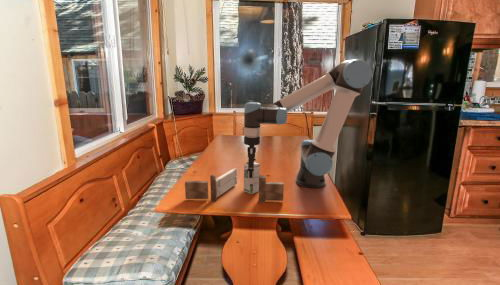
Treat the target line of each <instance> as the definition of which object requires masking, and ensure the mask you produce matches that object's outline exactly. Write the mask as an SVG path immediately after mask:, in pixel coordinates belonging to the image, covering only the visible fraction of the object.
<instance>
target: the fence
mask: <svg viewBox="0 0 500 285" xmlns="http://www.w3.org/2000/svg"><path fill="white" fill-rule="evenodd" d="M209 177H210V201H211V202H212V203H213V202H216V201H217V197H216V179H217V175H216V174H210V176H209ZM284 186H285V183H284V182H280V181H279V182H275V181H272V182H269V181H267V176H266V175H265V174H264V175H259V192H258V203H259V204H265V203H266V201H271V202H272V201H273V202H282V201H284V193H285V192H284V189H285V188H284ZM184 190H185V191H184V192H185V194H184V195H185V199H186V200H208V199H209V181H208V180H185V182H184Z"/></svg>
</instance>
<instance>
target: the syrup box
mask: <svg viewBox="0 0 500 285" xmlns="http://www.w3.org/2000/svg"><path fill="white" fill-rule="evenodd" d="M247 169H248V161H247V162H244V163H243V192H245V193H247V194H248V195H249V194H250V195H254V194H256V193H259V175H260V174H261V164H260V163H258V162H256V161H254V184H248V171H247ZM252 169H253V168H252Z"/></svg>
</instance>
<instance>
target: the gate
mask: <svg viewBox="0 0 500 285" xmlns="http://www.w3.org/2000/svg"><path fill="white" fill-rule="evenodd" d="M237 176H238V169H237V168H235V167H234V168H232V169H230V170H228V171H227V172H225V173H224V174H222V175H220V176H218V177H216V198H218V197H220V196H221V195H222V194H224V193H225V192H227V191H228V190H230V189H231V188H232V187H234V186H235V185H237V184H238V177H237Z"/></svg>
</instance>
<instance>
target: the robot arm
mask: <svg viewBox="0 0 500 285" xmlns="http://www.w3.org/2000/svg"><path fill="white" fill-rule="evenodd" d="M372 75H373V72H372V67H371V64H369V63H368V62H367V61H366V60H363V59H360V58H352V59H347V60H344V61H342V62H340V63H339V64H337V65H336V66H335V67H334V66H333V67H332V68H331V69H329V70H327V71H326V72H325V74H324V75H323V76H321V77H319V78H317V79H315V80H313V81H312V82H310V83H308V84H306V85H304V86H302V87H300V88H299V89H297V90H295V91H293V92H291V93H289V94H288V95H285V96H284V97H283V98H280V99H278V100H277V101H275V102H273V103H269V104H268V105H267V106H265V107H264V106H262V103H260V102H258V101H257V102H255V101H250V102H245V104H244V113H243V114H244V115H243V117H244V119H243V122H244V124H243V125H244V126H243V127H244V128H242V131H243V135H244V136H243V144H244V145H245V146H247V150H246V152H247V158H248V161H247V162H248V169H247V171H248V184H254V162H256V161H257V160H256V151H257V147H256V146H258V145H260V143H261V136H260V135H261V124H262V125H263V124H264V125H267V124H269V125H279V126H280V125H285V124H287V121H288V113H289V112H292V111H294V110H295V109H297V108H299V107H301V106H303V105H305V104H306V103H309V102H310V101H313V100H314V99H316V98H318V97H320V96H322V95H324V94H325V93H327V92H330V91H331V90H335V93H334V96H333V98H332V100H331V103H330V105H329V108H328V110H327V112H326V114H325V117H324V120H323V122H322V125H321V127H320V128H319V131H318V134H317V137H316V139H303V140H302V141H301V145H300V150H301V151H300V164H299V166H300V167H299V170H298V172H297V175H296V179H295V181H296V183H297V185H299V186H302V187H305V188H311V189H312V188H313V189H319V188H322V187H324V186H326V177H325V175H327V174H328V173H329V172H330V171H331V170H332V168H333V158H334V156H335V153H336V149H335V144H336V142H337V140H338V138H339V135H340V133H341V131H342V128H343V126H344V125H345V122H346V120H347V117H348V114H349V112H350V110H351V107H352V105H353V102H354V100H355V98H356V97H358V96H360V95H361V93H362V91H363V88H364V87H365V86H367V85H368V84H369V83H370V81H371V79H372ZM252 168H253V169H252Z"/></svg>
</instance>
